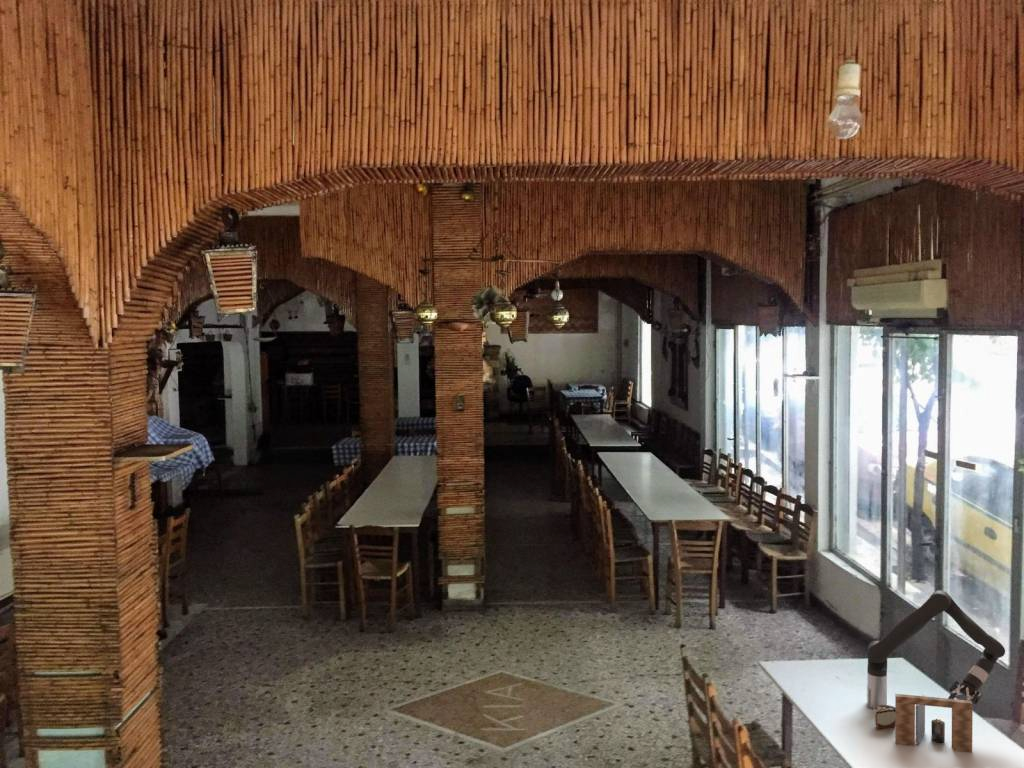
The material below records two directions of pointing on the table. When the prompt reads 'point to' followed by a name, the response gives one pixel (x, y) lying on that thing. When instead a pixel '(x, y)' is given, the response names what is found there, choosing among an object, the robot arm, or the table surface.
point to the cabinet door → (920, 722)
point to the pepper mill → (938, 731)
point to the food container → (884, 717)
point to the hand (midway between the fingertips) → (956, 704)
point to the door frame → (960, 708)
